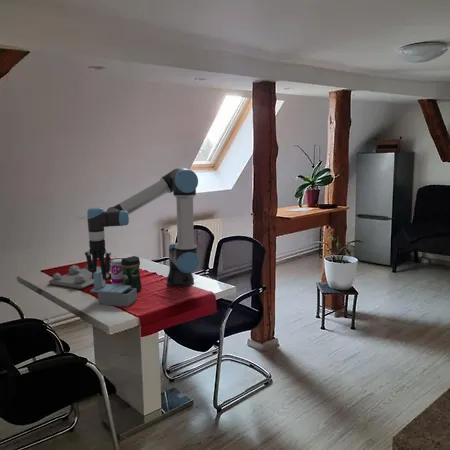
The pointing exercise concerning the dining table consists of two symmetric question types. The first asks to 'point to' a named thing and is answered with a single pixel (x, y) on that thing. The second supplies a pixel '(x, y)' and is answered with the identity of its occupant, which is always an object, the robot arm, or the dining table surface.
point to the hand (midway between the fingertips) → (99, 285)
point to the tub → (118, 298)
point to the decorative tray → (75, 278)
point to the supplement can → (116, 272)
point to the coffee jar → (131, 272)
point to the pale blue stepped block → (107, 285)
